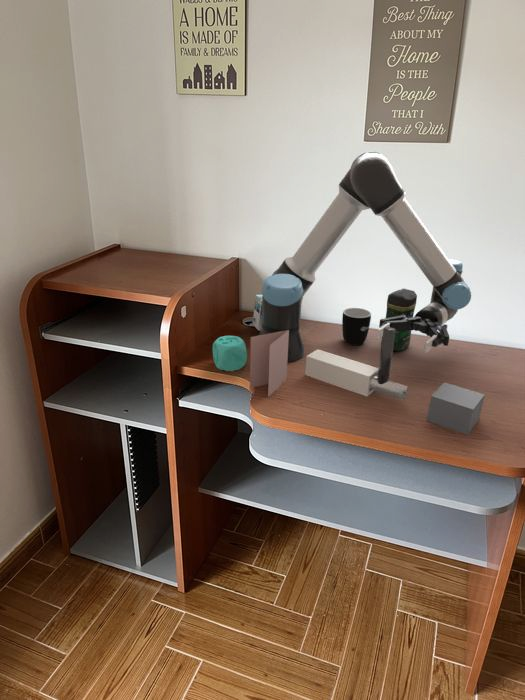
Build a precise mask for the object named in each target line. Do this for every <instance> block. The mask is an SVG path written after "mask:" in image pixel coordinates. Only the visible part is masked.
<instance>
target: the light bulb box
mask: <svg viewBox="0 0 525 700" xmlns="http://www.w3.org/2000/svg"><path fill="white" fill-rule="evenodd" d="M262 297H263V295H262V294H255V298H254V299H255V300H254V307H253V319H252V325H253V326H254V327H255V328H256V330H257V331H259V332H260V331H261V328H262Z"/></svg>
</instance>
